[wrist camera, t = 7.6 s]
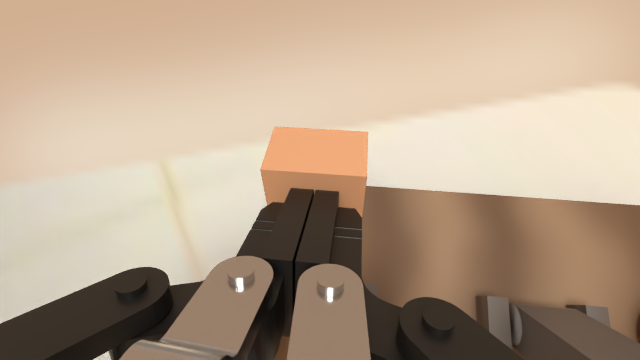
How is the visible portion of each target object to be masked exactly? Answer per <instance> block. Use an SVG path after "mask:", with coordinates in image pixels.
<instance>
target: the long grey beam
mask: <svg viewBox="0 0 640 360" xmlns="http://www.w3.org/2000/svg"><path fill="white" fill-rule="evenodd" d="M509 314H510V327H511V341H512V346H513V347H514V348H515V349H516V350H517V351H518V352H519V353H520V354H521V355H522V356H523V357H524V358H525V359H526V360H640V344H639V343H638V342H636V341H634V340H632V339H630V338H628V337H627V336H625V335H623V334H621V333H619V332H617V331H615V330H614V329H612V328H610V327H608V326H606V325H604V324H603V323H601V322H599V321H597V320H595V319H593V318H592V317H590V316H588V315H586V314H584V313H582V312H580V311H579V310H577V309H570V308H560V307H550V306H539V305H529V304H519V303H509Z"/></svg>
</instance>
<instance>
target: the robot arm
mask: <svg viewBox="0 0 640 360" xmlns="http://www.w3.org/2000/svg"><path fill="white" fill-rule="evenodd" d="M282 336H285V337H290V340H289V347H288V354H287V360H524V359H523V358H522V357H520V356H519V355H518V354H517V353H515V352H514V351H513V350H512V349H510V348H509V347H508V346H507V345H505V344H504V343H503V342H501V341H500V340H499V339H498V338H496V337H495V336H494V335H493V334H491V333H490V332H489V331H488V330H486V329H485V328H484V327H483V326H481V325H480V324H479V323H478V322H476V321H475V320H474V319H472V318H471V317H470V316H469V315H467V314H466V313H465V312H464V311H462V310H461V309H460V308H458V307H457V306H455V305H453V304H452V303H449V302H447V301H445V300H442V299H438V298H433V297H419V298H415V299H412V300H410V301H409V302H407V303H406V304H405V305H404V306H403V307H399V306H396V305H393V304H391V303H388V302H386V301H383V300H381V299H380V298H378V297H376V296H375V295H374V294H372V293H371V292H370V291H369V290H368V289H367V287H366V286H365V284H364V283H363V280H362V217H361V216H360V214H359V213H358V212H357V210H356V209H355V208H343V207H339V191H327V190H316V191H315V194H314V190H313V189H300V188H290V191H289V193H288V195H287V197H286V200H285V202H284V203H281V202H272V203H270V204H269V205H267V206H266V207H265V208H263V209H262V210H261V211H260V213H259V215H258V217H257V219H256V221H255V223H254V224H253V226H252V230H250V232H249V234H248V235H247V237H246V239H245V241H244V243H243V245H242V246H241V248H240V250H239V252H238V254H237V256H236V257H233V258H230V259H227V260H225V261H223V262H221V263H220V264H218V265H217V266H216V267H214V269H213V270H212V271H211V272H210V274H209V275H208V276H207V278H206V279H205V280H204V281H201V282H195V283H188V284H180V285H172V286H170V283H169V278H168V276H167V274H166V273H165V272H164V271H162V270H160V269H157V268H152V267H140V268H134V269H130V270H127V271H124V272H121V273H119V274H116V275H114V276H112V277H109V278H107V279H105V280H102V281H100V282H98V283H95V284H93V285H90V286H88V287H86V288H83V289H81V290H79V291H76V292H74V293H72V294H69V295H67V296H65V297H62V298H60V299H57V300H55V301H53V302H50V303H48V304H46V305H43V306H41V307H39V308H36V309H34V310H31V311H29V312H27V313H24V314H22V315H20V316H17V317H15V318H13V319H10V320H8V321H6V322H3V323H1V324H0V360H93V359H94V358H96V357H98V356H100V355H102V354H104V353H105V352H107V351H109V354H110V357H111V360H277V356H276V355H277V352H278V349H279V345H280V341H281V337H282Z"/></svg>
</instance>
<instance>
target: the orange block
mask: <svg viewBox="0 0 640 360" xmlns="http://www.w3.org/2000/svg"><path fill="white" fill-rule="evenodd" d="M367 152H368V132H360V131H343V130H325V129H308V128H290V127H274V130H273V133H272V136H271V139H270V142H269V145H268V148H267V151H266V154H265V157H264V160H263V163H262V166H261V169H260V170H261V175H262V180H263V185H264V191H265V196H266V201H267V205H269V204H270V203H272V202H281V203H284V202H285V200H286V197H287V195H288V193H289V191H290V188H300V189H313V190H314V194H315V191H316V190H327V191H339V207H343V208H355V209H356V210H357V212H358V213H359V214H360V216H361V217H362V214H363V206H364V197H365V188H366V180H367Z"/></svg>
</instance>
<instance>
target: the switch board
mask: <svg viewBox="0 0 640 360" xmlns="http://www.w3.org/2000/svg"><path fill="white" fill-rule="evenodd" d="M362 280H363V283H364V284H365V286H366V287H367V289H368V290H369V291H370V292H371V293H372V294H374V295H375V296H376V297H378V298H380V299H381V300H383V301H386V302H388V303H391V304H393V305H396V306H399V307H403V306H404V305H405V304H406V303H407V302H409V301H410V300H412V299H415V298H419V297H433V298H438V299H442V300H445V301H447V302H449V303H452V304H453V305H455V306H457V307H458V308H460V309H461V310H462V311H464V312H465V313H466V314H467V315H469V316H470V317H471V318H472V319H474V320H475V321H476V322H478V323H479V324H480V325H481V326H483V327H484V328H485V329H486V330H488V331H489V332H490V333H491V334H493V335H494V336H495V337H496V338H498V339H499V340H500V341H501V342H503V343H504V344H505V345H507V346H508V347H509V348H510V349H512V350H513V351H514V352H515V353H517V354H518V355H519V356H520V357H522V358H523V359H524V360H526V359H525V358H524V357H523V356H522V355H521V354H520V353H519V352H518V351H517V350H516V349H515V348H514V347H513V346H512V341H511V327H510V314H509V303H519V304H529V305H539V306H550V307H560V308H570V309H577V310H579V311H580V312H582V313H584V314H586V315H588V316H590V317H592V318H593V319H595V320H597V321H599V322H601V323H603V324H604V325H606V326H608V327H610V328H612V329H614V330H615V331H617V332H619V333H621V334H623V335H625V336H627V337H628V338H630V339H632V340H634V341H636V342H638V343H639V344H640V206H639V205H625V204H611V203H597V202H583V201H569V200H555V199H541V198H526V197H512V196H498V195H484V194H470V193H456V192H442V191H428V190H414V189H400V188H386V187H372V186H366V188H365V197H364V206H363V214H362ZM289 340H290V337H285V336H282V337H281V341H280V345H279V349H278V352H277V355H276V356H277V360H287V354H288V347H289Z"/></svg>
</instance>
